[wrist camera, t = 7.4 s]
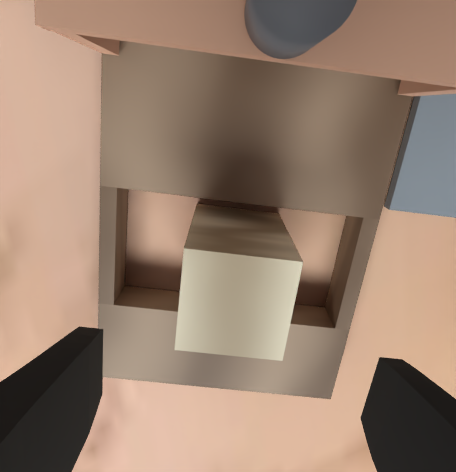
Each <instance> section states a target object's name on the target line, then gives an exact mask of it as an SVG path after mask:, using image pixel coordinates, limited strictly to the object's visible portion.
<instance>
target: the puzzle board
mask: <svg viewBox="0 0 456 472" xmlns="http://www.w3.org/2000/svg"><path fill="white" fill-rule="evenodd" d="M400 82H401V80H398V79H391V78H384V77H377V76H370V75H363V74H356V73H349V72H341V71H334V70H327V69H320V68H313V67H306V66H299V65H292V64H284V63H277V62H270V61H263V60H256V59H249V58H242V57H234V56H227V55H220V54H213V53H206V52H199V51H192V50H185V49H177V48H170V47H163V46H156V45H149V44H142V43H135V42H128V41H120V44H119V56H117V55H110V54H103V53H102V77H101V155H100V234H99V312H98V329H103V377H107V378H118V379H128V380H138V381H149V382H159V383H169V384H179V385H190V386H200V387H210V388H221V389H231V390H241V391H252V392H262V393H272V394H283V395H293V396H303V397H314V398H324V399H331V396H332V392H333V388H334V385H335V381H336V377H337V374H338V370H339V366H340V363H341V359H342V355H343V352H344V348H345V344H346V341H347V337H348V333H349V329H350V326H351V322H352V318H353V315H354V311H355V307H356V304H357V300H358V296H359V293H360V289H361V285H362V282H363V278H364V274H365V270H366V267H367V263H368V259H369V256H370V252H371V248H372V245H373V241H374V237H375V234H376V230H377V226H378V223H379V219H380V215H381V211H382V208H383V204H384V200H385V197H386V193H387V189H388V186H389V182H390V178H391V175H392V171H393V167H394V164H395V160H396V156H397V152H398V149H399V145H400V141H401V138H402V134H403V130H404V127H405V123H406V119H407V116H408V112H409V108H410V104H411V101H412V97H413V96H406V95H399V94H398V90H399V86H400ZM128 189H131V190H139V191H148V192H156V193H164V194H172V195H181V196H189V197H197V198H205V199H214V200H222V201H230V202H238V203H247V204H255V205H263V206H271V207H280V208H288V209H296V210H304V211H312V212H321V213H329V214H337V215H345V216H346V220H345V224H344V229H343V233H342V237H341V241H340V245H339V249H338V254H337V258H336V262H335V266H334V270H333V274H332V279H331V283H330V287H329V291H328V295H327V299H326V304H325V307H317V306H308V305H298V304H294V308H293V313H292V318H291V323H290V328H289V332H288V337H287V342H286V347H285V351H284V356H283V361H278V360H268V359H259V358H249V357H239V356H229V355H219V354H209V353H199V352H189V351H180V350H175V339H176V328H177V317H178V307H179V296H180V292H179V291H170V290H161V289H151V288H142V287H133V286H125V265H126V239H127V213H128Z"/></svg>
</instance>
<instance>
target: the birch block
mask: <svg viewBox="0 0 456 472" xmlns="http://www.w3.org/2000/svg"><path fill="white" fill-rule="evenodd" d="M302 265H303V261H302V259H301V257H300V255H299V253H298V251H297V249H296V247H295V245H294V243H293V241H292V239H291V237H290V235H289V233H288V231H287V229H286V227H285V225H284V223H283V221H282V219H281V217H280V215H279V214H278V213H270V212H262V211H253V210H245V209H237V208H229V207H220V206H212V205H204V204H197V206H196V209H195V212H194V216H193V219H192V223H191V226H190V229H189V233H188V236H187V240H186V243H185V246H184V253H183V264H182V274H181V285H180V296H179V307H178V317H177V328H176V339H175V350H180V351H189V352H199V353H209V354H219V355H229V356H239V357H249V358H259V359H268V360H278V361H283V356H284V351H285V347H286V342H287V337H288V332H289V328H290V323H291V318H292V313H293V308H294V304H295V299H296V294H297V289H298V285H299V280H300V275H301V270H302Z"/></svg>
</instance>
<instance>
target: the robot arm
mask: <svg viewBox="0 0 456 472" xmlns="http://www.w3.org/2000/svg"><path fill="white" fill-rule="evenodd" d="M102 379H103V329H97V328H87V327H78V328H77V329H75V330H74V331H72V332H71V333H69V334H68V335H67V336H65V337H64V338H62V339H61V340H60V341H58V342H57V343H56V344H54V345H53V346H51V347H50V348H49V349H47V350H46V351H45V352H43V353H42V354H40V355H39V356H38V357H36V358H35V359H33V360H32V361H30V362H29V363H28V364H26V365H25V366H23V367H22V368H20V369H19V370H18V371H16V372H15V373H13V374H12V375H10V376H9V377H7V378H6V379H4V380H3V381H1V382H0V472H72V470H73V467H74V465H75V463H76V461H77V459H78V457H79V454H80V452H81V450H82V448H83V446H84V444H85V441H86V439H87V437H88V435H89V432H90V429H91V426H92V423H93V421H94V418H95V415H96V412H97V409H98V405H99V402H100V399H101V396H102ZM361 421H362V425H363V429H364V432H365V436H366V440H367V443H368V447H369V450H370V453H371V457H372V459H373V462H374V464H375V467H376V470H377V472H456V399H455V398H454V397H452V396H451V395H450V394H448V393H447V392H446V391H444V390H443V389H442V388H441V387H439V386H438V385H437V384H435V383H434V382H433V381H431V380H430V379H429V378H428V377H426V376H425V375H424V374H422V373H421V372H420V371H418V370H417V369H415V368H414V367H413V366H411V365H410V364H408V363H407V362H405V361H404V360H402V359H392V358H382V357H380V358H379V361H378V364H377V367H376V370H375V374H374V377H373V380H372V383H371V386H370V390H369V393H368V396H367V399H366V403H365V406H364V409H363V412H362V415H361Z"/></svg>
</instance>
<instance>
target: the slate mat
mask: <svg viewBox="0 0 456 472" xmlns="http://www.w3.org/2000/svg"><path fill="white" fill-rule="evenodd" d="M384 207H386V208H388V209H389V210H397V211H405V212H413V213H422V214H430V215H438V216H446V217H454V218H456V94H442V95H427V96H414V98H413V102H412V106H411V109H410V113H409V117H408V120H407V124H406V128H405V131H404V135H403V139H402V142H401V146H400V150H399V153H398V157H397V161H396V165H395V168H394V172H393V176H392V179H391V183H390V187H389V190H388V194H387V198H386V201H385V205H384Z"/></svg>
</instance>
